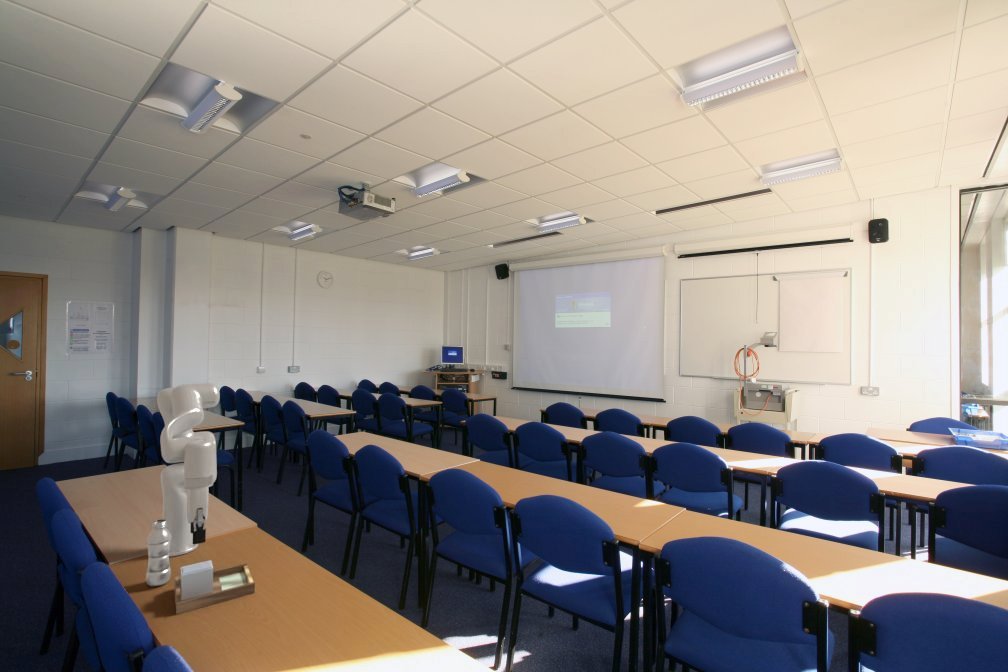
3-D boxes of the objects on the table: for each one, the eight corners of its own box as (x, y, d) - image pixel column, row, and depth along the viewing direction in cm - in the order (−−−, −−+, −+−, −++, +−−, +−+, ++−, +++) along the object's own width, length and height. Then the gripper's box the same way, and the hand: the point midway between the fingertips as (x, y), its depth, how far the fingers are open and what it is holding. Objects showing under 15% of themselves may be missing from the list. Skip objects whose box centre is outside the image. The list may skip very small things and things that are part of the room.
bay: (174, 589, 147) (174, 573, 147) (246, 571, 159) (246, 556, 159) (176, 614, 135) (176, 597, 135) (254, 592, 147) (254, 576, 147)
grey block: (180, 591, 144) (180, 566, 144) (210, 583, 149) (211, 559, 149) (181, 600, 139) (181, 574, 139) (212, 592, 144) (213, 567, 144)
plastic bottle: (157, 590, 147) (159, 526, 147) (139, 587, 148) (141, 524, 148) (176, 579, 153) (177, 518, 153) (158, 577, 154) (160, 516, 154)
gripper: (182, 476, 149) (181, 531, 149) (185, 491, 135) (184, 551, 135) (210, 472, 153) (209, 525, 153) (216, 486, 139) (215, 544, 139)
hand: (197, 537), depth 144 cm, fingers open, 9 cm apart
